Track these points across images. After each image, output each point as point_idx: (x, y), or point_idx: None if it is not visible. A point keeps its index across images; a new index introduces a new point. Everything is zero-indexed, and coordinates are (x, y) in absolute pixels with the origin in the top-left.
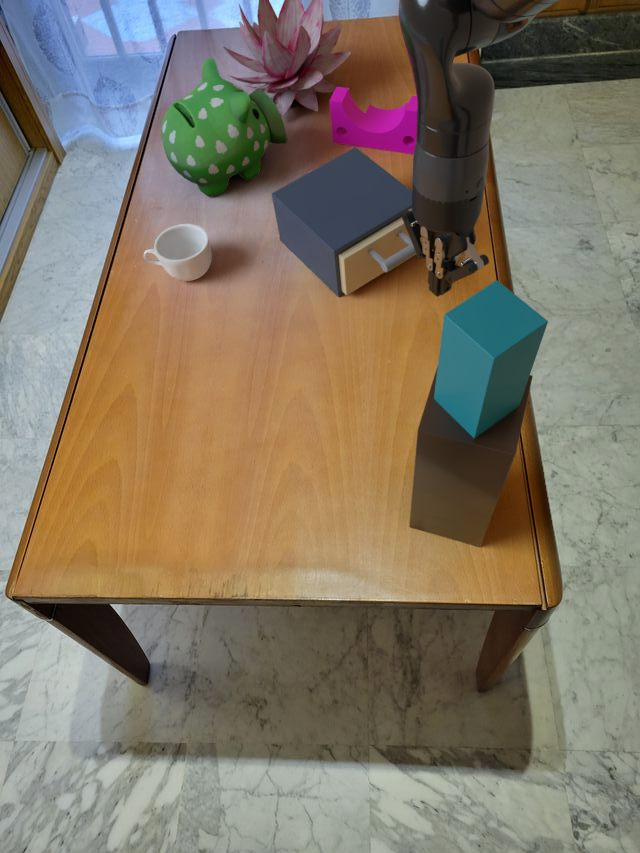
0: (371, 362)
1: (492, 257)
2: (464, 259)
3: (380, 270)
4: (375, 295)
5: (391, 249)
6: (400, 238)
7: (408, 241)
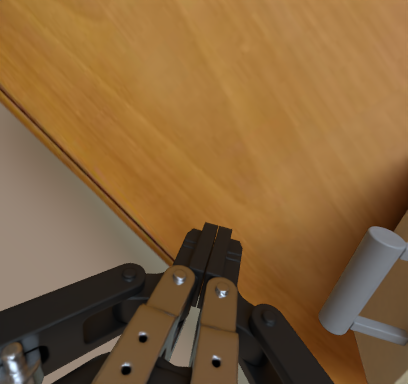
0: (278, 13)
1: None
2: (22, 374)
3: (401, 233)
4: (379, 179)
5: (402, 289)
6: (395, 322)
7: (364, 325)
